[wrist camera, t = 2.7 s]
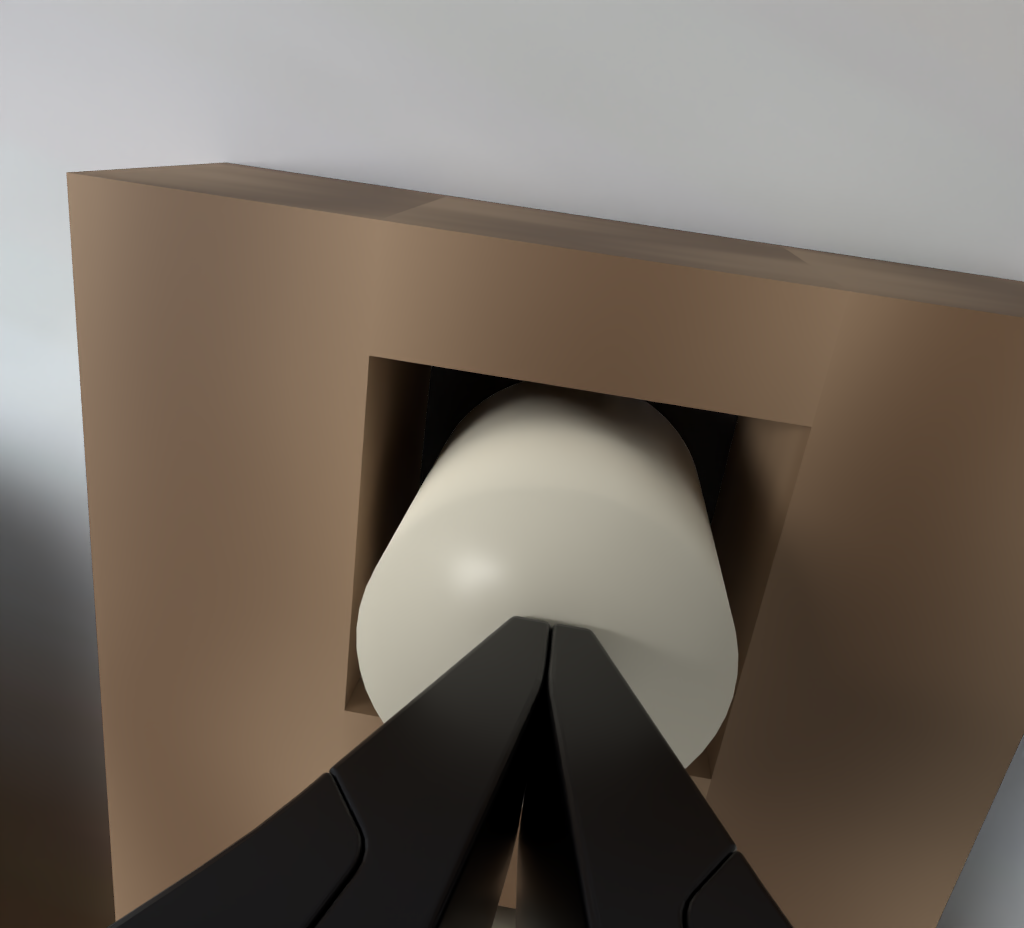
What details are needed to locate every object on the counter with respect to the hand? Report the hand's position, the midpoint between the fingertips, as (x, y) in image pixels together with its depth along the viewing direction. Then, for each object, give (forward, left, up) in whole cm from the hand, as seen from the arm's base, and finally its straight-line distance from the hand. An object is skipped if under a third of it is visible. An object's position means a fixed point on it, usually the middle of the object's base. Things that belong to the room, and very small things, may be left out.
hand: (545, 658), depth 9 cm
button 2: (0, 0, -4) cm, 4 cm away
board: (0, +8, -6) cm, 10 cm away
